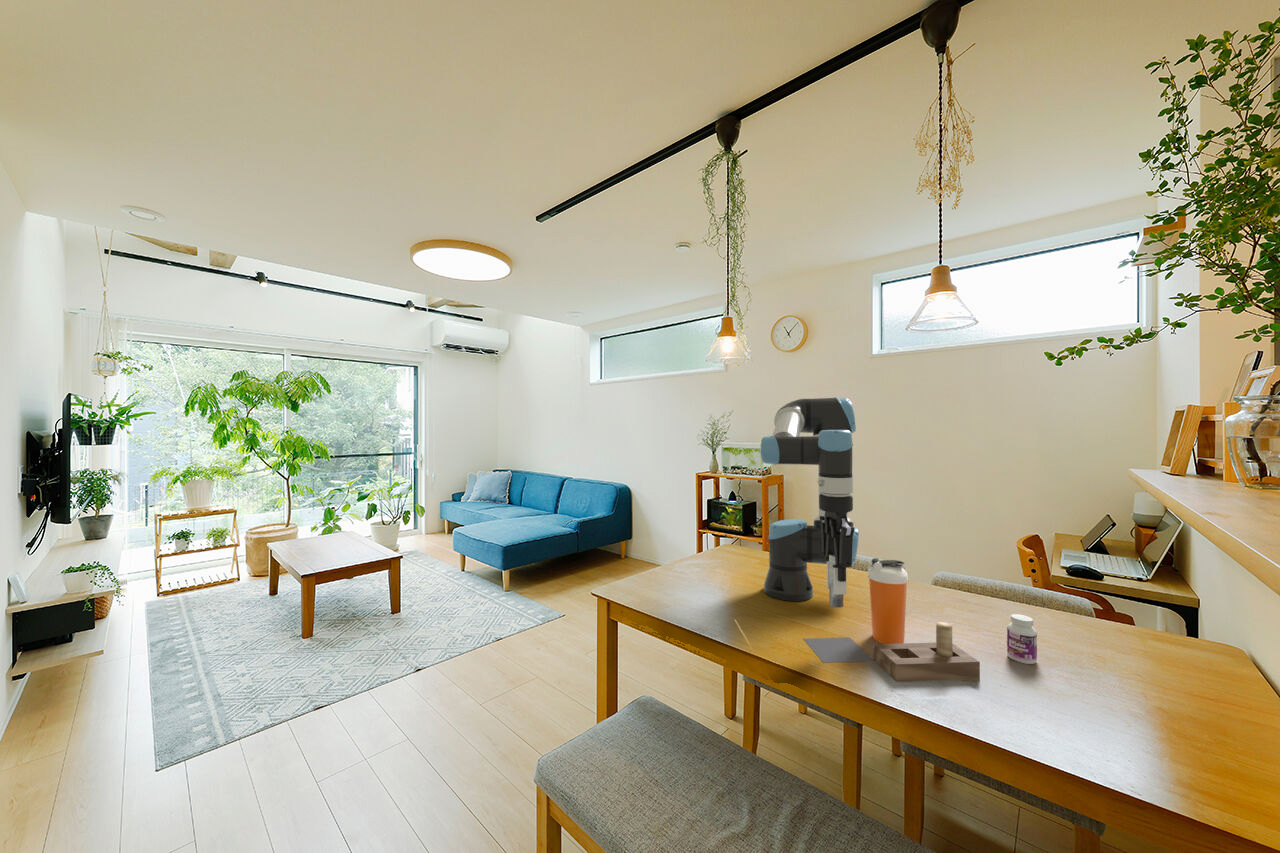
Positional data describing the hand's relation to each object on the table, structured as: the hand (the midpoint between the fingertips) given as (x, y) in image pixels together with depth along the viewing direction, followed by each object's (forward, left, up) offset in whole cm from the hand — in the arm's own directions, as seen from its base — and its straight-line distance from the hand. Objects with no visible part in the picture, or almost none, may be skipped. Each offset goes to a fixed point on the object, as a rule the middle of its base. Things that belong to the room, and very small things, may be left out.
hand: (836, 590), depth 113 cm
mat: (0, 0, -14) cm, 14 cm away
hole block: (+10, +15, -14) cm, 23 cm away
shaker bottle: (-4, +15, -15) cm, 22 cm away
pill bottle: (+7, +40, -15) cm, 43 cm away
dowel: (+10, +19, -14) cm, 26 cm away
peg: (0, 0, -3) cm, 3 cm away
